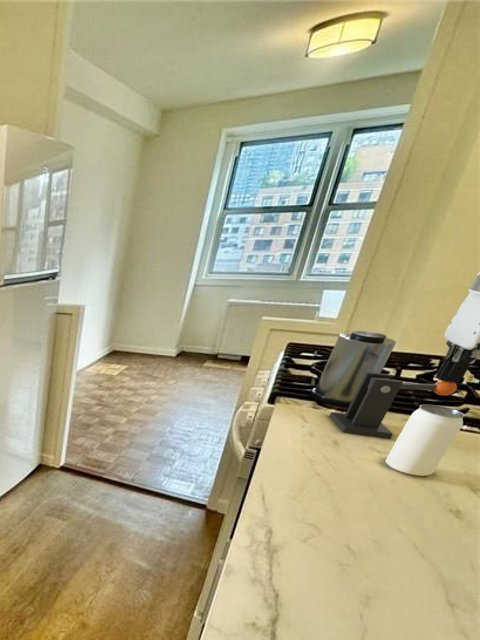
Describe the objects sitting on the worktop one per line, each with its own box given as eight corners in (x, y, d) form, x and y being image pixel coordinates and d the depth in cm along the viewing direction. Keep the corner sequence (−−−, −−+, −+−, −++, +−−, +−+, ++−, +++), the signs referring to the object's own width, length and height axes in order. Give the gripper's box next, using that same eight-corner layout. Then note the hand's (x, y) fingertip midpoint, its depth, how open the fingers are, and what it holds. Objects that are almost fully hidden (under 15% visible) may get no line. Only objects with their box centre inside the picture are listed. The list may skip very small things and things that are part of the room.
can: (387, 470, 91) (420, 412, 85) (381, 456, 96) (412, 400, 90) (435, 480, 88) (473, 421, 82) (426, 466, 92) (462, 408, 87)
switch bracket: (373, 422, 110) (399, 372, 104) (390, 438, 102) (419, 386, 97) (329, 416, 112) (352, 368, 107) (343, 432, 105) (368, 381, 100)
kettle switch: (447, 392, 100) (454, 378, 99) (456, 398, 97) (463, 383, 96) (365, 389, 105) (371, 375, 104) (371, 394, 103) (377, 379, 101)
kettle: (355, 393, 125) (386, 329, 117) (377, 413, 114) (413, 344, 106) (302, 387, 129) (329, 325, 121) (319, 406, 118) (350, 339, 110)
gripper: (560, 295, 82) (494, 395, 91) (504, 281, 94) (451, 371, 103) (499, 292, 85) (441, 389, 93) (453, 278, 97) (405, 366, 105)
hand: (447, 379), depth 98 cm, fingers closed
